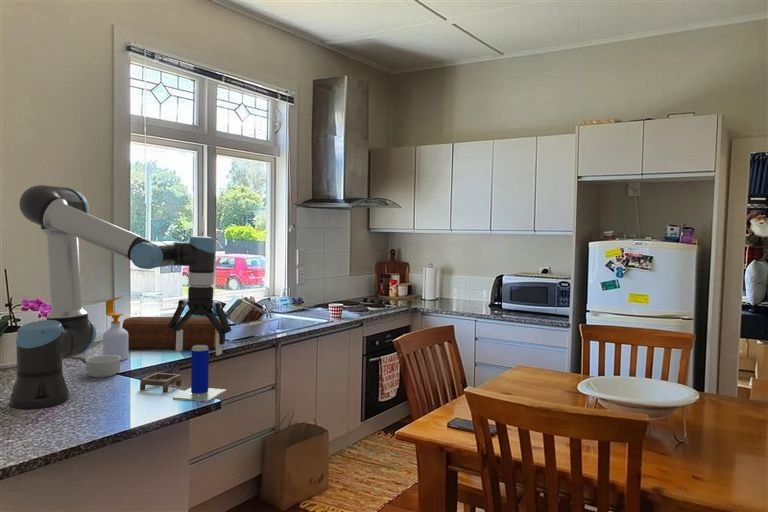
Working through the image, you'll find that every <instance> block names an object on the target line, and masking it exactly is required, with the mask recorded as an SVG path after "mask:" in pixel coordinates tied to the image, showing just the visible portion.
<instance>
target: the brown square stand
mask: <svg viewBox="0 0 768 512" xmlns="http://www.w3.org/2000/svg"><path fill="white" fill-rule="evenodd" d="M163 379H164V380H163ZM139 381H140V384H139V391H140V390H144V391H146V390H145V389H146V387H147V386H154V387H155V386H156V387H162V393H163V392H167V393H169V386H170V385H172V384H175V385H176V387H181V386H182V374H179V373H178V374H177V373H168V372H167V373H164V372H155V373H153V374H150V375H148V376H146V377H143V378H141V379H140V380H139Z"/></svg>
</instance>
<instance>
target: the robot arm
mask: <svg viewBox="0 0 768 512" xmlns="http://www.w3.org/2000/svg"><path fill="white" fill-rule="evenodd" d="M18 203H19V204H18V205H19V210H20V212H21V214H22V215H23V217H24V218H26V219H27V220H28V221H30V222H31V223H34V224H35V225H36V224H37V225H38V226H40V230H41V232H43V233H44V235H46V240H47V241H46V242H47V243H46V244H47V255H48V256H47V258H48V271H49V272H48V273H49V288H50V289H49V290H50V292H49V293H50V301H51V302H50V306H51V311H50V312H49V313H48V314H47V315H46V319H45V320H44V319H43V320H38V321H32V322H27V323H25V324H23V325H21V326H20V327H19V328H18V329H17V332H16V338H15V344H16V379H15V382H14V385H13V388H12V392H11V393H10V396H9V406H10V407H11V408H15V409H22V410H23V409H26V410H27V409H39V408H40V409H41V408H48V407H53V406H56V405H59V404H63V403H65V402H66V401H68V400H70V399H69V398H70V390H69V389H68V386H67V383H66V380H65V377H64V374H63V360H65V359H69V358H68V357H71V356H75V357H76V356H78V355H80V354H82V353H84V352H86V351H87V350H88V349H90V348H91V347H92V346H93V344H94V343H95V340H96V336H97V330H96V325H95V324H94V323H93V322H92V320H90V319H89V313H88V311H87V310H85V309H84V308H83V302H82V301H83V300H82V284H81V271H80V269H81V268H80V266H81V265H80V252H79V250H80V249H79V239H80V240H82V241H84V242H88V243H90V244H92V245H95V246H97V247H99V248H101V249H104V250H106V251H108V252H111V253H113V254H115V255H118V256H119V257H123V258H125V259H127V260H129V261H131V262H132V264H133V265H134V266H135V267H137V268H139V269H143V270H144V269H145V270H152V269H156V268H160V267H161V268H162V267H170V266H177V267H179V266H180V267H188V285H189V286H188V287H187V288H188V291H187V297H188V299H187V300H186V299H185V298H183V299H179V300H178V302H177V307H176V309H175V311H174V313H173V315H172V316H171V317H172V319H171V321H170V323H169V325H168V327H169V328H172V329H173V330H174V340H176V350H175V352H181V351H183V330H180V329H182V327H183V325H184V324H185V323H186V322H187V321H188V320H189V318H190V317H193V316H199V317H207V318H208V319H209V320H210V322H211V323H212V324H213V326H214V327H215V329H216V330H217V331H218V333H219V334H217V335H216V349H215V356H218V357H219V356H220V355H222V354H223V345H224V344H225V343H226V334H227V333H231V331H232V328H231V325H230V323H229V321H228V318H227V316H226V313H225V311H224V306H223V302H222V301H219V302H214V300H213V299H214V287H213V285H214V284H215V283H214V279H215V277H214V276H215V256H216V255H215V254H216V250H215V249H216V248H215V239H214V238H213V237H210V236H198V235H197V236H196V235H195V236H190V238H189V241H184V242H183V241H172V240H171V241H169V240H155V241H154V240H149V239H148V238H146V237H143V236H141V235H139V234H136V233H134V232H132V231H129V230H127V229H125V228H122V227H120V226H117V225H115V224H113V223H111V222H108V221H106V220H104V219H102V218H99V217H97V216H95V215H92V214H89V210H90V208H89V207H90V206H89V203H88V201H87V199H86V197H85V195H83V194H82V193H81V192H80V191H78V190H77V189H73V188H70V187H67V186H66V187H63V186H53V185H52V186H50V185H45V184H43V185H42V184H38V185H33V186H31V187H28V188H27V189H25V191H23V193H22V194H21V195H20V198H19V201H18ZM186 307H188V310H187V311H186V312H185V314H184V315H183V316H182V314H183V312H184V310H185V309H186ZM213 309H214V310H215V311H213ZM215 312H216V314H215ZM216 315H217V316H216ZM180 317H182V319H181V320H180V321H179V322H178V320H179V318H180ZM217 318H219V320H220V322H221V323H220V322H219V320H218V319H217ZM177 322H178V323H177Z"/></svg>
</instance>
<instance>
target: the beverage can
mask: <svg viewBox="0 0 768 512" xmlns="http://www.w3.org/2000/svg"><path fill="white" fill-rule="evenodd" d="M209 355H210V352H209V348H208V346H207V345H195V346H193V347H192V350H191V358H190V359H191V363H190V364H191V366H190V367H191V369H190V370H191V371H190V373H191V375H190V377H191V378H190V380H191V381H190V388H191V392H192V394H193V395H204V394H206V393H207V392H208V388H209V362H210V360H209V358H210V356H209Z"/></svg>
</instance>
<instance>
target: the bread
mask: <svg viewBox="0 0 768 512" xmlns="http://www.w3.org/2000/svg"><path fill="white" fill-rule="evenodd" d="M172 317H173V316H131V317H126V318H125V319H123V321H122V326H121V328H123V329H125V330H126V331H127V332H128V351H129V350H130V351H131V350H132V351H134V350H145V351H146V350H147V351H151V350H152V351H153V350H154V351H155V350H156V351H158V350H161V351H162V350H167V351H169V350H174V351H176V340H174V330H173V329H172V328H169V327H168V325H169V323H170V321H171V319H172ZM182 317H183V316H180V318H179V320H178V322H179V321H180V320H181V319H182ZM216 318H217V319H218V320H219V317H216ZM178 322H177V323H178ZM219 322H220V320H219ZM220 323H221V322H220ZM180 330H183V350H186V351H187V350H191V351H192V347H193V346H195V345H207V346H208V348H209V350H216V335H217V334H219V333H218V331H217V330H216V329H215V327H214V326H213V324H212V323H211V322H210V320H209V319H208V318H207V317H206V316H191V317H190V318H189V320H188V321H187V322H186V323H185V324H184V325H183V327H182V329H180ZM183 350H182V351H183Z"/></svg>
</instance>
